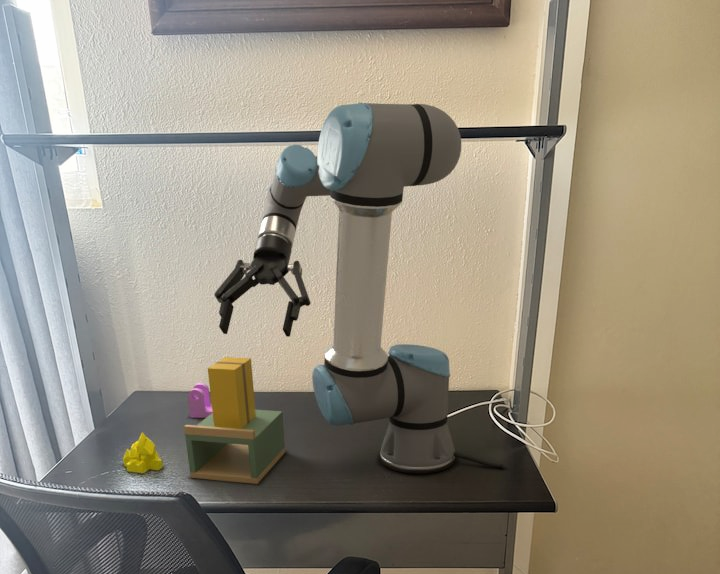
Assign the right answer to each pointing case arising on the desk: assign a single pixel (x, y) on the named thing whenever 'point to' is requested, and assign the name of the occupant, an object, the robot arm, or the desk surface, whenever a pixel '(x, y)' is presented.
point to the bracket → (199, 401)
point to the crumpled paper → (142, 456)
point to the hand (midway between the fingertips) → (254, 331)
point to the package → (232, 392)
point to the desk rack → (235, 448)
